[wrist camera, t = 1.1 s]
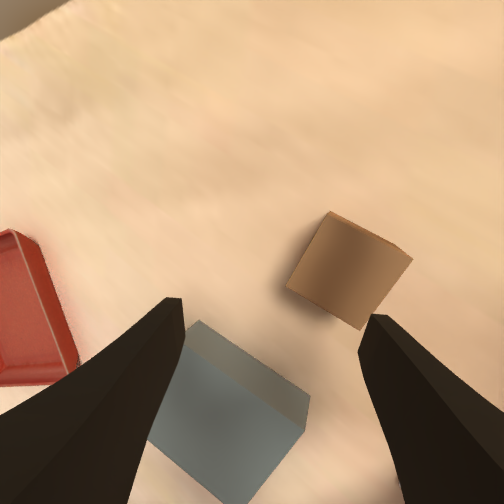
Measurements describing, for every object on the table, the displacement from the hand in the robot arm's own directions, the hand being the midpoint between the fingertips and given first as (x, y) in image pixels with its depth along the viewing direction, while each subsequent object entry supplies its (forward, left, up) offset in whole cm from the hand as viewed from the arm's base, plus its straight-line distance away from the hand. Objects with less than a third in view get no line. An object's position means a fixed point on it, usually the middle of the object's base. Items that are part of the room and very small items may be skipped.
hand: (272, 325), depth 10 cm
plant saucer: (+28, +24, -12) cm, 39 cm away
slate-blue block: (0, +16, -11) cm, 20 cm away
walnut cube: (-2, -2, -11) cm, 11 cm away
